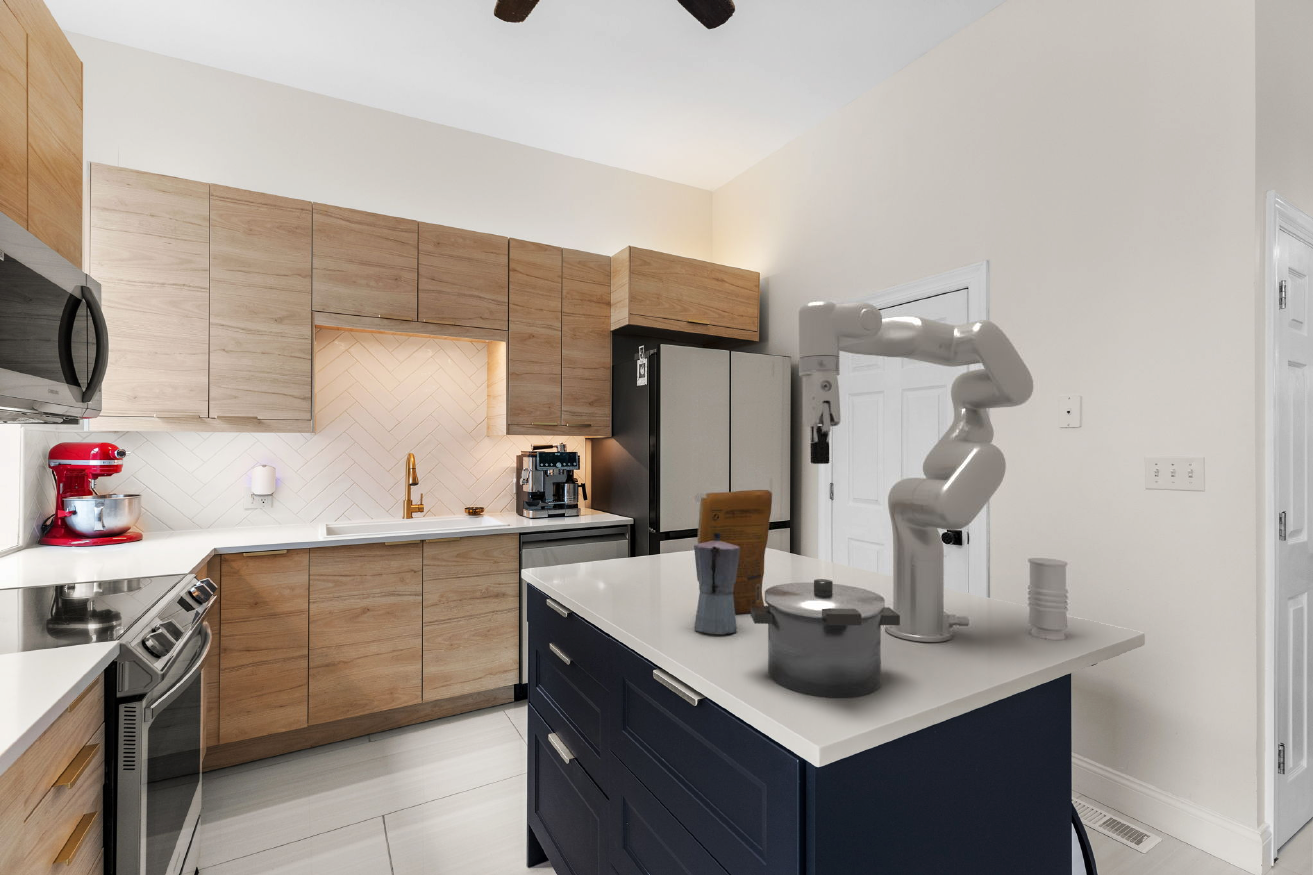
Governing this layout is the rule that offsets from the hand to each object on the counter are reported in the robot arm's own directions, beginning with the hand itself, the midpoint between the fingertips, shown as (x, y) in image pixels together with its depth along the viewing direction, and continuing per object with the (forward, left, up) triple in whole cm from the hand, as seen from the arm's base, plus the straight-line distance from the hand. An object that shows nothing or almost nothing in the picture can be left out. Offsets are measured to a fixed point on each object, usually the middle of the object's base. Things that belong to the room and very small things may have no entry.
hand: (820, 463), depth 118 cm
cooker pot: (+3, +15, -35) cm, 38 cm away
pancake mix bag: (+14, -23, -35) cm, 44 cm away
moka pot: (+19, -9, -35) cm, 41 cm away
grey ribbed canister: (-48, -9, -35) cm, 60 cm away
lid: (+3, +17, -23) cm, 28 cm away
